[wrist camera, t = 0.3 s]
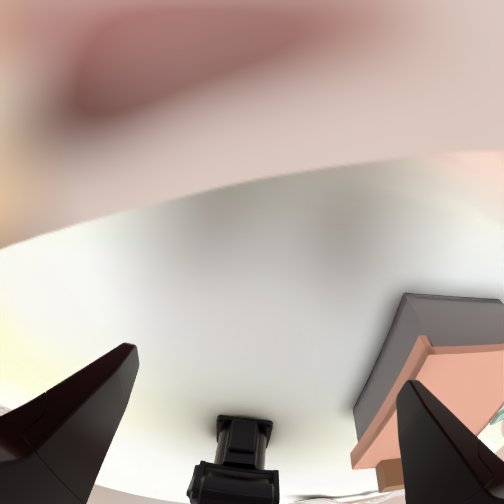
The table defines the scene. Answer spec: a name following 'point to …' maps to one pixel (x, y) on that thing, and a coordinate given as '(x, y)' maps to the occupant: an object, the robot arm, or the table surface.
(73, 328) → the table surface
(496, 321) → the base
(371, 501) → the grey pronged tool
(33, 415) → the robot arm
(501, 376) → the lid
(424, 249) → the table surface
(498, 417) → the money
